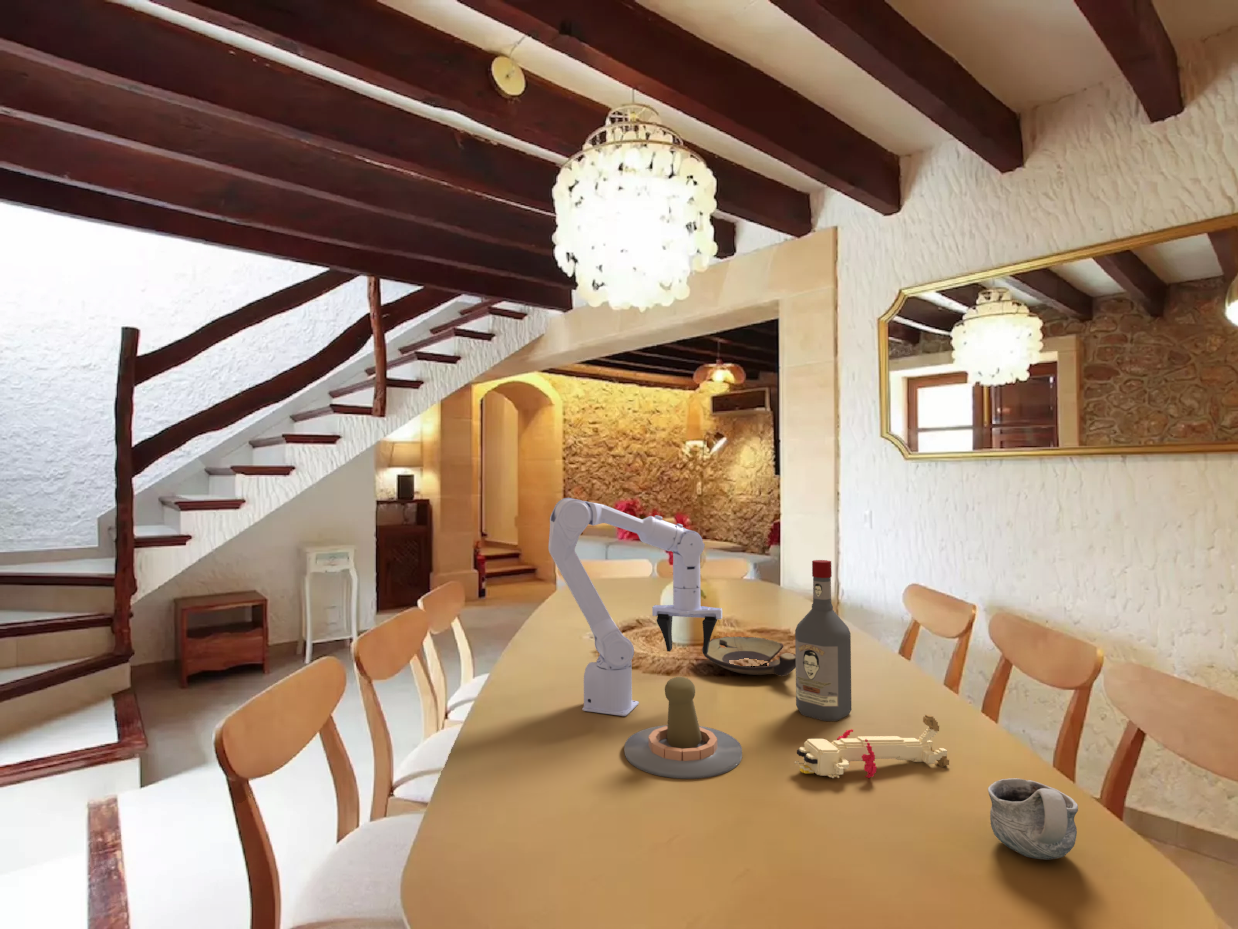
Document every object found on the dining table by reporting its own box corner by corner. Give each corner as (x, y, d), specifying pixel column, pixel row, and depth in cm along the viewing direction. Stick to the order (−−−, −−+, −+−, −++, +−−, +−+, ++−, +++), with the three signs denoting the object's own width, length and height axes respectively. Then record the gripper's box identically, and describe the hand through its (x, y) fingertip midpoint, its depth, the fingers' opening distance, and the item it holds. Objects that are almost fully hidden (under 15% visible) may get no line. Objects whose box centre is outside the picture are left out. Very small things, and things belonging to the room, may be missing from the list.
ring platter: (606, 767, 110) (606, 752, 110) (646, 724, 128) (646, 711, 128) (728, 787, 102) (728, 770, 102) (751, 738, 121) (751, 724, 121)
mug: (1049, 831, 89) (1048, 755, 89) (1116, 889, 77) (1114, 801, 77) (975, 830, 90) (974, 754, 90) (1029, 888, 77) (1028, 800, 77)
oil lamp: (774, 654, 177) (774, 624, 177) (824, 690, 147) (823, 655, 147) (691, 658, 174) (691, 628, 174) (725, 695, 144) (725, 660, 144)
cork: (700, 750, 113) (695, 691, 111) (664, 748, 115) (659, 690, 112) (702, 728, 119) (698, 672, 117) (669, 726, 120) (663, 671, 118)
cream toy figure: (917, 756, 116) (783, 758, 111) (920, 705, 116) (786, 705, 111) (957, 782, 106) (812, 785, 101) (960, 726, 107) (816, 727, 101)
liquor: (814, 701, 140) (812, 557, 140) (856, 712, 134) (854, 560, 134) (791, 712, 134) (789, 561, 134) (833, 724, 127) (831, 565, 128)
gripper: (648, 588, 139) (649, 654, 139) (718, 591, 135) (719, 659, 135) (656, 582, 146) (657, 645, 146) (723, 585, 142) (724, 650, 142)
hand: (687, 651), depth 141 cm, fingers open, 7 cm apart
